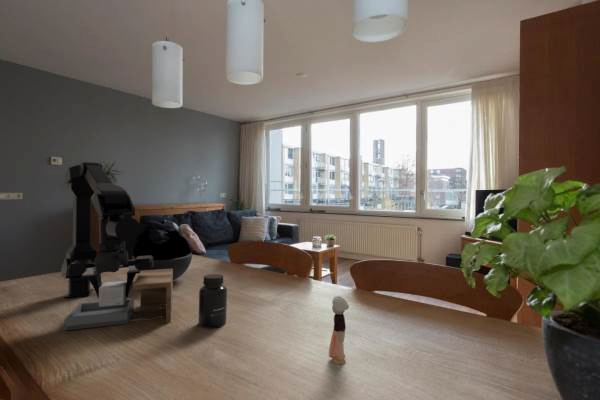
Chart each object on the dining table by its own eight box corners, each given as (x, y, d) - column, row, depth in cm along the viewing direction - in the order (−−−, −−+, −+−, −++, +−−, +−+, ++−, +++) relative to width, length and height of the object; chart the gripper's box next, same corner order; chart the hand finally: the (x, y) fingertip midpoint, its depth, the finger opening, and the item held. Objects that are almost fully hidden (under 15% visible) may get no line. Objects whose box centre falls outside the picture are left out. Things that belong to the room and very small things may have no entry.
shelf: (140, 305, 91) (140, 270, 91) (172, 302, 94) (172, 268, 94) (132, 326, 77) (133, 285, 77) (170, 322, 80) (170, 282, 80)
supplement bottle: (219, 330, 76) (219, 280, 76) (193, 327, 77) (193, 278, 77) (231, 319, 83) (231, 273, 82) (206, 316, 84) (207, 271, 84)
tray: (79, 313, 85) (79, 303, 85) (134, 308, 89) (134, 298, 89) (64, 330, 74) (64, 318, 74) (127, 323, 79) (127, 312, 79)
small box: (103, 300, 84) (104, 281, 84) (128, 298, 86) (128, 280, 86) (97, 307, 79) (98, 287, 79) (123, 305, 81) (124, 286, 81)
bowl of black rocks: (203, 281, 118) (203, 230, 117) (151, 294, 102) (151, 236, 101) (172, 272, 130) (172, 226, 129) (121, 283, 113) (121, 231, 113)
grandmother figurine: (325, 350, 67) (326, 290, 66) (343, 350, 67) (344, 290, 67) (332, 371, 59) (333, 303, 59) (352, 370, 59) (353, 303, 59)
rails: (73, 317, 83) (73, 316, 83) (168, 307, 91) (168, 306, 91) (62, 329, 75) (62, 328, 75) (167, 317, 83) (167, 316, 83)
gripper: (57, 245, 71) (59, 314, 72) (149, 240, 78) (150, 303, 78) (73, 238, 82) (75, 299, 82) (153, 234, 88) (154, 290, 89)
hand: (113, 298), depth 82 cm, fingers closed on small box, 6 cm apart
